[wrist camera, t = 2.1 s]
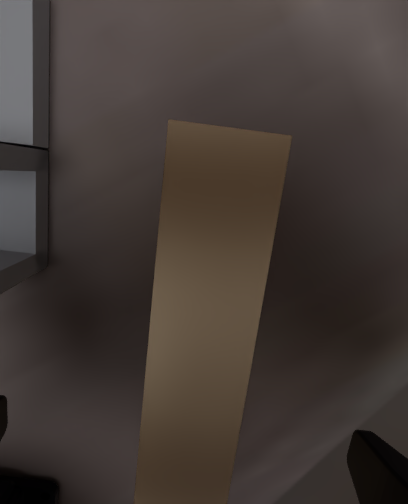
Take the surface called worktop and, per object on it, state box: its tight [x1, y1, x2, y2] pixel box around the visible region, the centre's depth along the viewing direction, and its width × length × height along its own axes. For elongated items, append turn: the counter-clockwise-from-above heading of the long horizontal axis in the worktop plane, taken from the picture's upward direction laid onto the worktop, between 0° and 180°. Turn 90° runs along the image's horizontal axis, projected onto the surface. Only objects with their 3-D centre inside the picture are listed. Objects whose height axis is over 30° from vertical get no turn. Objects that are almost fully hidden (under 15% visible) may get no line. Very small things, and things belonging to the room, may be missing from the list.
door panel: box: [134, 119, 292, 504], centre depth 11 cm, size 14×2×8 cm, turn 173°
